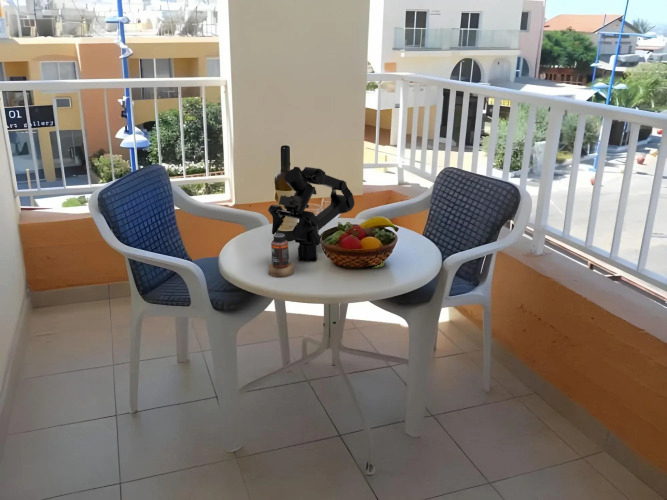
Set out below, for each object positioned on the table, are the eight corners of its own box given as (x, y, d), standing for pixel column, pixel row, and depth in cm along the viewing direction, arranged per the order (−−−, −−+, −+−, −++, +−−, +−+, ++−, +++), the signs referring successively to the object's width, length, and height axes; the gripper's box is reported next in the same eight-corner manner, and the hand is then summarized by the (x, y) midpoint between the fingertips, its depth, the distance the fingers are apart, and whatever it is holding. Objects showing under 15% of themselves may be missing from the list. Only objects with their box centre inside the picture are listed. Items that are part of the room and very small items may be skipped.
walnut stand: (295, 267, 207) (295, 261, 206) (292, 277, 199) (292, 271, 198) (271, 267, 208) (270, 260, 207) (266, 277, 200) (266, 270, 199)
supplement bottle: (291, 263, 205) (290, 233, 201) (285, 269, 199) (284, 238, 195) (276, 261, 206) (275, 231, 202) (269, 267, 201) (267, 236, 197)
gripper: (269, 182, 203) (250, 220, 199) (313, 189, 194) (294, 229, 189) (284, 199, 212) (266, 235, 208) (326, 206, 203) (308, 245, 198)
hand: (283, 236), depth 200 cm, fingers open, 9 cm apart
